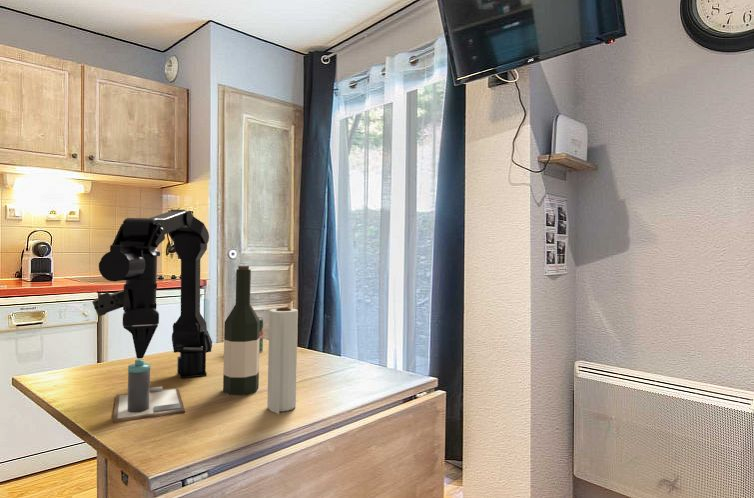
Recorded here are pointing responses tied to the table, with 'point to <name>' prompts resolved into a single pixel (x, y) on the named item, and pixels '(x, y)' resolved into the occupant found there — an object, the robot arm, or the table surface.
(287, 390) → the paper towel roll
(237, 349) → the wine bottle
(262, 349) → the canned tomato
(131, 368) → the water bottle
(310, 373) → the table surface
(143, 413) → the clipboard
